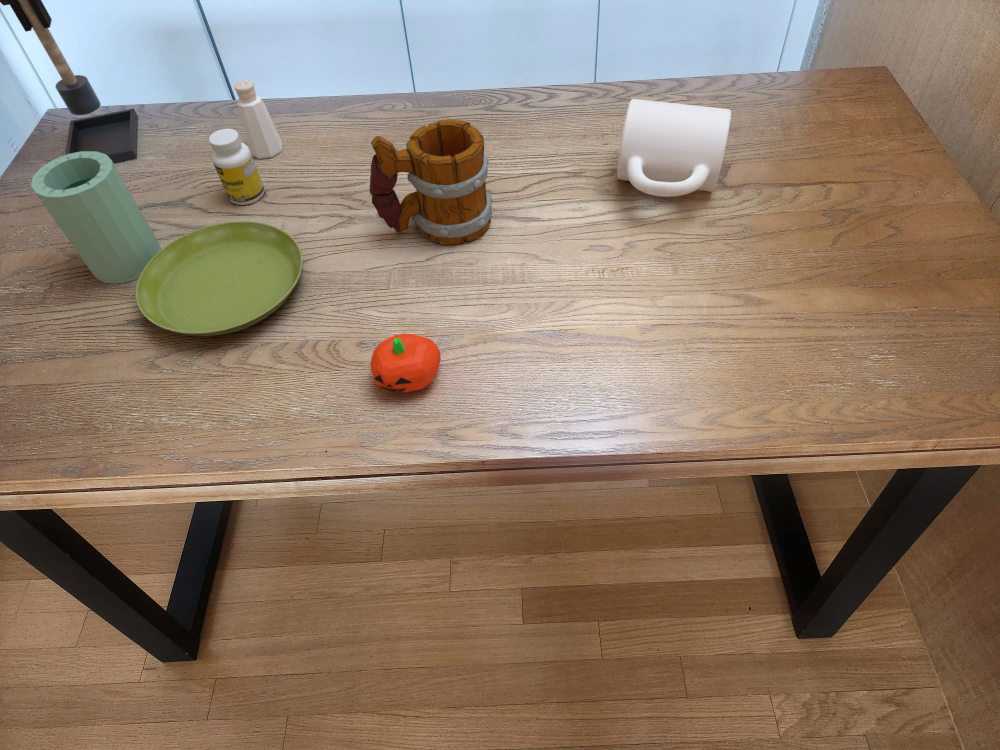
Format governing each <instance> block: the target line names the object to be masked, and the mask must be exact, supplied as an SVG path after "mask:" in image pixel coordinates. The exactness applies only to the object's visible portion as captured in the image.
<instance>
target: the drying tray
mask: <svg viewBox="0 0 1000 750" xmlns="http://www.w3.org/2000/svg"><path fill="white" fill-rule="evenodd" d="M67 134H68V136H67V141H66V147H65V154H64V155H67V154H71V153H76V152H81V151H96V152H100V153H103V154H106V155H107V156H108V157H109V158H110V159H111V160H112V162H113V163H114V165H115V164H119V163H120V164H121V163H124V162H130V161H134V160H137V159H138V137H139V116H138V114H137V111H136V110H135V108H129V109H124V110H119V111H114V112H108V113H103V114H98V115H93V116H92V115H91V116H88V117H82V118H77V119H72V120H69V126H68V133H67Z"/></svg>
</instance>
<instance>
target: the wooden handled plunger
mask: <svg viewBox="0 0 1000 750" xmlns="http://www.w3.org/2000/svg"><path fill="white" fill-rule="evenodd" d="M17 2H18V4H19V5H20V7H21V9H22V11H23V12H24V14H25V16H26V18H27V19H28V21H29V23H30V25H31V26H32V30H33V31H34V33H35V35H36V36H37V39H38V40H39V42H40V44H41V45H42V47H43V49H44V51H45V53H46V55H47V56H48V57H49V59H50V61H51V63H52V64H53V66H54V68H55V71H56V72H57V73H58V75H59V77H60V78H61V79H60V80H59V81H57V82H56V83H55V90H56V91H57V93H58V94H59V96H60V98H61V99H62V101H63V103H64V105H65V106H66V109H68V111H69V113H70V114H72V115H74V116H84V115H89V114H92V113H93V112H95V111H97V110H98V109H99V108H100V107H101V104H102V103H101V101H100V99H99V98H98V95H97V93H96V92H95V90H94V88H93V86H92V84H91V82H90V81H89V78H88V77H87V76H85V75H81V74H75V73H74V72H73V70H72V68H71V67H70V64H69V63H68V61H67V59H66V57H65V56H64V54H63V52H62V50H61V49H60V47H59V45H58V42H56V39H55V38H54V36H53V35H52V33H51V30H50V28H44V27H43V25H42V23H41V22H40V20H39V18H38V16H37V15H36V13H35V11H34V9H33V7H32V6H31V4H30V2H29V0H17Z"/></svg>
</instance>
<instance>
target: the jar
mask: <svg viewBox="0 0 1000 750" xmlns="http://www.w3.org/2000/svg"><path fill="white" fill-rule="evenodd" d="M30 187H31V188H32V190H33V192H34V194H35V195H36V196H37V197H38V199H39V200H40V201H41V203H42V205H43V206H44V207H45V208H46V210H47V211H48V213H49V214H50V216H51V218H52V219H53V221H55V223H56V224H57V226H58V227H59V228H60V230H61V231H62V233H63V234H64V236H65V237H66V238H67V240H68V241H69V243H70V245H71V246H72V247H73V248H74V250H75V252H77V254H78V255H79V257H80V258H81V259H82V261H83V262H84V264H85V266H86V267H87V269H89V271H90V272H91V274H92V275H93V277H94V278H95V279H96V280H97V281H100V282H103V283H105V284H110V285H112V284H113V285H114V284H115V285H118V284H125V283H129V282H133V281H135V280H138V279H139V277H140V274H141V273H142V271H143V269H144V268H145V266H146V265H147V264H148V262H149V261H150V260H151V259H152V258H153V257H154V256H155V255H156V254H157V253H158V252H159V251H160V250H162V249H163V248H162V247H161V245H160V242H159V240H158V239H157V236H156V235H155V233H154V231H153V230H152V228H151V226H150V224H149V223H148V221H147V219H146V217H145V215H144V214H143V212H142V211H141V209H140V207H139V205H138V203H137V202H136V200H135V198H134V197H133V195H132V192H131V191H130V189H129V188H128V186H127V184H126V182H125V181H124V178H123V177H122V176H121V174H120V172H119V170H118V169H117V167H116V165H115V164H114V163H113V162H112V160H111V159H110V158H109V157H108V156H107V155H106V154H103V153H100V152H96V151H81V152H76V153H71V154H67V155H65V154H64V155H62V156H59V157H57V158H55V159H52V160H51V161H49V162H48V163H45V164H44V165H43V166H41V167H40V168H39V169H37V172H35V174H34V175H33V176H32V177H31V182H30Z"/></svg>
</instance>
